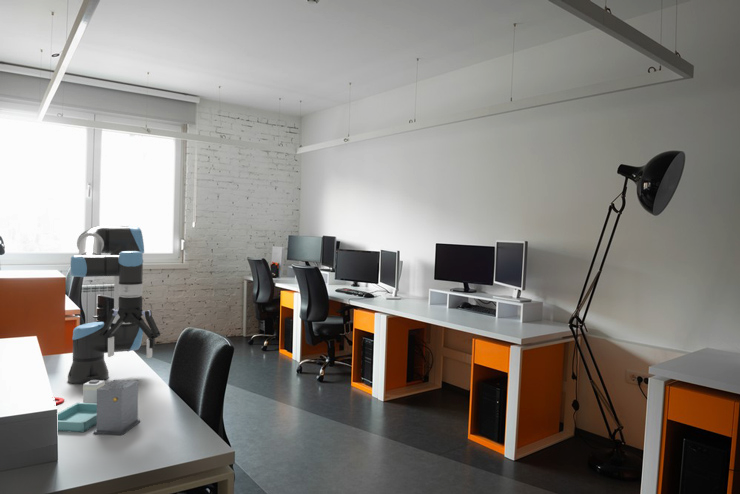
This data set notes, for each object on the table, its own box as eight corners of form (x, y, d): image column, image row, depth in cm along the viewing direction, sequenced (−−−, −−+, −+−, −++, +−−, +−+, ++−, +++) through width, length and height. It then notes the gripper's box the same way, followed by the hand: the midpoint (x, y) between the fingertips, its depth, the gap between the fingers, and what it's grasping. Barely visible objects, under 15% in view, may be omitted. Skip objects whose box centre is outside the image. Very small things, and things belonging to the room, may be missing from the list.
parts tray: (77, 411, 179) (77, 402, 179) (113, 412, 179) (113, 404, 179) (43, 430, 162) (43, 421, 162) (83, 432, 162) (83, 422, 161)
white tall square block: (91, 401, 189) (91, 378, 189) (104, 402, 189) (104, 379, 189) (82, 406, 184) (83, 382, 184) (96, 406, 184) (96, 383, 184)
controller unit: (113, 420, 172) (113, 379, 171) (140, 421, 171) (140, 380, 171) (93, 434, 160) (93, 389, 160) (122, 435, 160) (122, 390, 159)
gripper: (88, 296, 174) (88, 358, 175) (161, 298, 173) (160, 360, 174) (101, 293, 181) (101, 352, 182) (170, 295, 180) (170, 355, 181)
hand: (130, 356), depth 178 cm, fingers open, 13 cm apart
